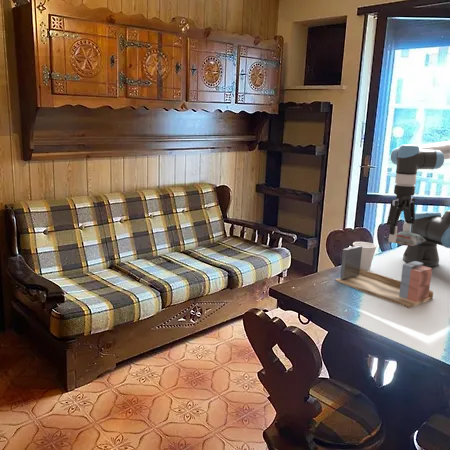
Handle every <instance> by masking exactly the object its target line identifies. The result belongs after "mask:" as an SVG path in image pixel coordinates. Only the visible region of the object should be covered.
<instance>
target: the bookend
mask: <svg viewBox="0 0 450 450" xmlns="http://www.w3.org/2000/svg"><path fill="white" fill-rule="evenodd" d="M361 254H362V246H355V247H353V246H351V247H346V248H342V256H341V266H340V277H339V278H340V279H343V280H344V279H348V278H352V277H355V276H359V273H360V263H361Z"/></svg>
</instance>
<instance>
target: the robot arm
mask: <svg viewBox="0 0 450 450" xmlns="http://www.w3.org/2000/svg"><path fill="white" fill-rule="evenodd" d="M448 159H450V140H447V141H441V142H435V143H427V144H422V145H421V144H420V145H417V144H401V145H400V146H399V147H396V148H395V147H394V148H393V150H392V151H391V153H390V161H391V163H392V164H393V165H396V171H395V180H394V181H395V182H394V183H395V184H394V189H393V193H394V195H396V197H395V200H394V199H390V208H389V212H388V216H387V220H386V225H387V226H389V236H388V238H389V239H388V242H389V243H391V244H392V243H393V244H397V243H396V237H397V233H398V226H397V224H398V223H399V220H400V217H401V214H402V212H403V217H404V222H403V226H402V232H411V233H415V234H419V235H420V236H422V237H423V238H424V239H425V240H426V241H424V242H423V243H421V244H418V245H414V246H406V248H405V250H404V253H403V255H402V260H403V261H404V262H405V263H409V262H413V261H418V262H421V263H424V264H423V266H426V267H436V266H439V264H440V256H439V250H438V246H442V247H443V248H446V249H450V209H448V210H446V211H445V212H444V214H442V213H441V212H439V211H416V197H413V196H414V195H415V193H416V192H415V191H416V186H415V185H416V181H417V172H418V170H438V169H441V167H442V166H443V165H444V163H445V160H448Z"/></svg>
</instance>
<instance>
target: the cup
mask: <svg viewBox="0 0 450 450" xmlns="http://www.w3.org/2000/svg"><path fill="white" fill-rule="evenodd" d="M355 246H362V254H361V263H360V269H364V270H367V271H370V269H371V266H372V262H373V259H374V256H375V253H376V249H377V244H375V243H372V242H367V241H366V242H365V241H354V242H353V243H352V247H355Z"/></svg>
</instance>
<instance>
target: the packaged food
mask: <svg viewBox="0 0 450 450" xmlns="http://www.w3.org/2000/svg"><path fill="white" fill-rule="evenodd" d="M387 240H389V237H388V238H387ZM424 241H426V240H425V239H424V238H423V237H422V236H420V235H419V234H415V233H411V232H403V231H399V232H397V237H396V243H395V244H399V245H402V246H406V247H407V246H414V245H418V244H421V243H423V242H424Z"/></svg>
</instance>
